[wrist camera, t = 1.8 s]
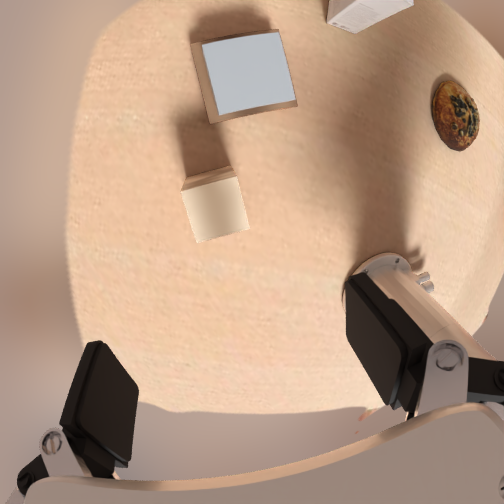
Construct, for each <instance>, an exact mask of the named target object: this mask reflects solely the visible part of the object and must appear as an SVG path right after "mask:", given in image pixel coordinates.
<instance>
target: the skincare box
mask: <svg viewBox="0 0 504 504" xmlns="http://www.w3.org/2000/svg"><path fill="white" fill-rule="evenodd" d="M413 5H414V3H413V0H329V6H328V14H327V24H330V25H333V26H335V27H338V28H341V29H343V30H346V31H349V32H351V33H354V34H357V33H359V32H360V31H362V30H364V29H366V28H368V27H370V26H372V25H373V24H375V23H377V22H379V21H381V20H383V19H385V18H387V17H389V16H391V15H394V14H396V13H398V12H400V11H402V10H404V9H406V8H409V7H411V6H413Z"/></svg>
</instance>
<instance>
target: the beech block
mask: <svg viewBox="0 0 504 504" xmlns="http://www.w3.org/2000/svg"><path fill="white" fill-rule="evenodd" d="M181 195H182V198H183V201H184V205H185V208H186V211H187V214H188V217H189V221H190V224H191V227H192V230H193V233H194V236H195V239H196V242H197V243H200V242H203V241H207V240H211V239H214V238H218V237H222V236H225V235H229V234H233V233H236V232H240V231H244V230H248V229H250V227H249V223H248V219H247V215H246V211H245V207H244V203H243V198H242V194H241V190H240V186H239V182H238V178H237V175H236V173H235V172H234V170H233V168H232V167H231V166H227V167H223V168H219V169H215V170H212V171H208V172H204V173H201V174H197V175H194V176H190V177H187V178H186V180H185V182H184V185H183V187H182V189H181Z"/></svg>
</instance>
